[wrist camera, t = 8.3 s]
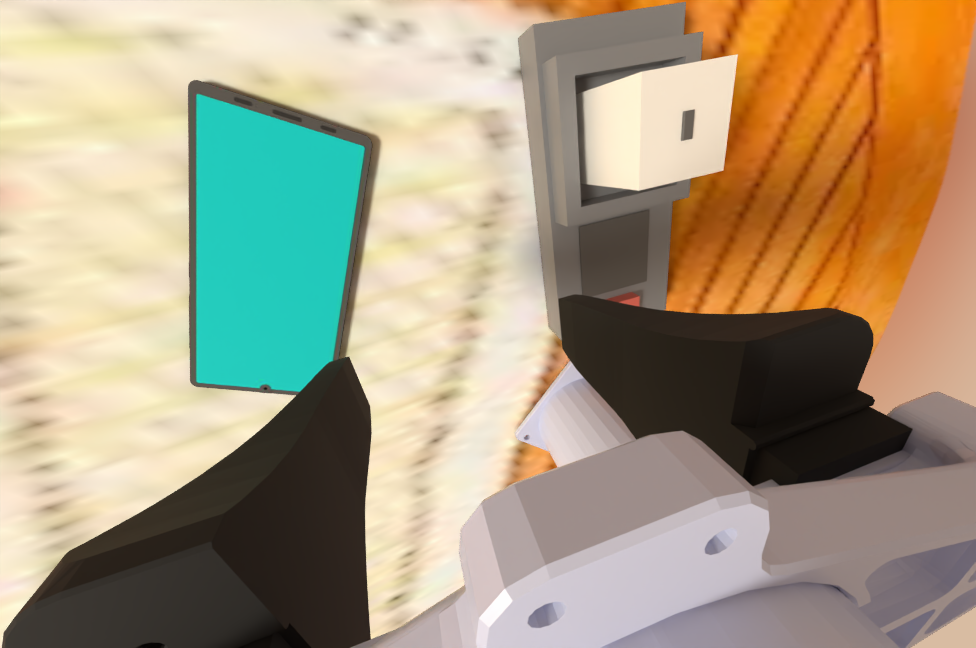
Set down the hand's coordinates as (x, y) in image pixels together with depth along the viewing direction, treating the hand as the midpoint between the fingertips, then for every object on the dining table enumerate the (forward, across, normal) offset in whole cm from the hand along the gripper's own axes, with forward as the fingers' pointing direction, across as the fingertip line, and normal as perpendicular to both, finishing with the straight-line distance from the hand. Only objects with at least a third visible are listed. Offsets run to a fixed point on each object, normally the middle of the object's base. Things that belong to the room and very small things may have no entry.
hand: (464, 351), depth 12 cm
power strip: (+10, -11, 0) cm, 15 cm away
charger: (+8, -11, -5) cm, 14 cm away
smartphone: (+10, +8, -2) cm, 13 cm away
